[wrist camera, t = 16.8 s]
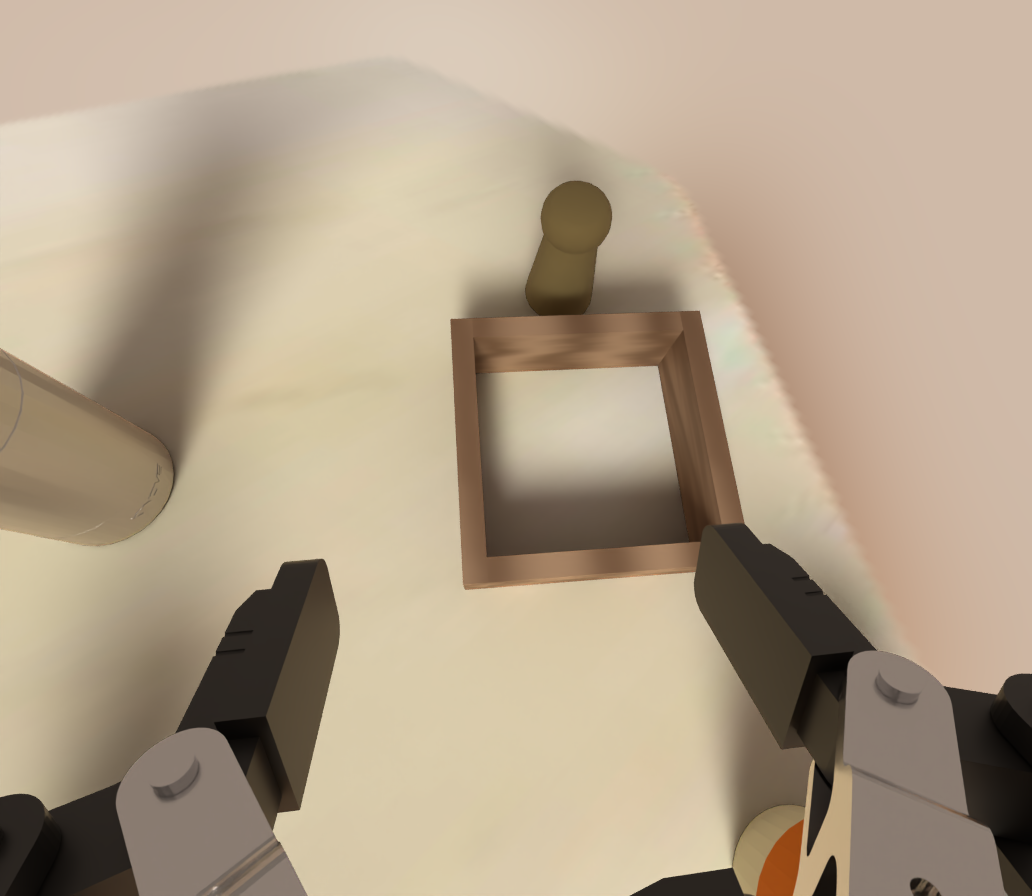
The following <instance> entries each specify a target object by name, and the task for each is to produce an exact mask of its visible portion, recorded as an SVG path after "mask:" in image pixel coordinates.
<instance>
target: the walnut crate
mask: <svg viewBox="0 0 1032 896" xmlns="http://www.w3.org/2000/svg"><path fill="white" fill-rule="evenodd" d="M451 339H452V360H453V381H454V403H455V424H456V445H457V466H458V487H459V508H460V529H461V550H462V571H463V585H464V588H465V590H469V589H481V588H494V587H507V586H520V585H533V584H546V583H558V582H571V581H584V580H597V579H610V578H623V577H635V576H648V575H661V574H674V573H687V572H696V567H697V561H698V555H699V549H700V543H701V537H702V532H703V529H704V528H705V527H706V526H708V525H718V524H729V523H743V524H744V519H743V514H742V509H741V505H740V500H739V495H738V490H737V486H736V481H735V476H734V472H733V467H732V462H731V457H730V453H729V448H728V443H727V438H726V434H725V429H724V424H723V419H722V415H721V410H720V405H719V400H718V396H717V391H716V386H715V381H714V377H713V372H712V367H711V362H710V358H709V353H708V348H707V343H706V339H705V334H704V329H703V324H702V320H701V315H700V311H680V312H649V313H619V314H589V315H558V316H528V317H498V318H467V319H451ZM636 366H658V368H659V374H660V380H661V385H662V391H663V397H664V402H665V408H666V414H667V419H668V425H669V430H670V436H671V442H672V447H673V453H674V459H675V464H676V470H677V476H678V481H679V487H680V492H681V498H682V504H683V509H684V515H685V521H686V526H687V532H688V538H689V543H675V544H661V545H648V546H634V547H620V548H606V549H593V550H579V551H565V552H552V553H538V554H524V555H510V556H497V557H487V552H486V536H485V520H484V503H483V487H482V471H481V455H480V438H479V422H478V406H477V390H476V373H494V372H517V371H541V370H565V369H589V368H612V367H636Z"/></svg>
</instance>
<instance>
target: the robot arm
mask: <svg viewBox="0 0 1032 896" xmlns="http://www.w3.org/2000/svg"><path fill="white" fill-rule="evenodd" d="M173 477H174V472H173V463H172V460H171V457H170V455H169V452H168V451H167V449H166V448H165V446H164V445H163V444H162V442H160V441H159V440H158V439H157V438H156V437H154V436H153V435H152V434H150V433H148V432H146V431H145V430H143V429H141V428H139V427H138V426H136V425H134V424H132V423H131V422H129V421H127V420H125V419H124V418H122V417H120V416H119V415H117V414H115V413H114V412H112V411H110V410H108V409H106V408H105V407H103V406H101V405H99V404H98V403H96V402H94V401H92V400H91V399H89V398H87V397H85V396H84V395H82V394H80V393H78V392H77V391H75V390H73V389H71V388H70V387H68V386H66V385H64V384H63V383H61V382H59V381H57V380H56V379H54V378H52V377H50V376H48V375H47V374H45V373H43V372H41V371H40V370H38V369H36V368H34V367H33V366H31V365H29V364H27V363H26V362H24V361H22V360H20V359H19V358H17V357H15V356H13V355H12V354H10V353H8V352H6V351H5V350H3V349H1V348H0V529H3V530H8V531H13V532H18V533H24V534H29V535H34V536H38V537H43V538H48V539H54V540H59V541H64V542H69V543H75V544H80V545H88V546H101V545H108V544H113V543H116V542H119V541H122V540H125V539H127V538H129V537H131V536H133V535H135V534H136V533H138V532H140V531H141V530H142V529H144V528H145V527H146V526H147V525H148V524H150V523H151V522H152V521H153V520H154V519H155V517H156V516H157V515H158V514H159V513H160V512H161V510H162V508H163V507H164V505H165V503H166V502H167V500H168V498H169V495H170V492H171V489H172V485H173ZM694 591H695V597H696V601H697V604H698V606H699V609H700V611H701V613H702V614H703V616H704V618H705V619H706V621H707V623H708V624H709V626H710V628H711V630H712V631H713V633H714V635H715V636H716V638H717V640H718V642H719V643H720V645H721V647H722V648H723V650H724V652H725V654H726V655H727V657H728V659H729V660H730V662H731V664H732V666H733V667H734V669H735V671H736V672H737V674H738V676H739V678H740V679H741V681H742V683H743V684H744V686H745V688H746V690H747V691H748V693H749V695H750V696H751V698H752V700H753V701H754V703H755V705H756V707H757V708H758V710H759V712H760V713H761V715H762V717H763V719H764V720H765V722H766V724H767V725H768V727H769V729H770V731H771V732H772V734H773V736H774V737H775V739H776V741H777V743H778V744H779V746H780V748H781V749H788V748H796V747H804V746H806V748H807V750H808V751H809V753H810V754H811V756H812V758H813V760H812V763H811V765H810V770H809V778H808V787H807V797H806V806H805V816H804V826H803V835H802V845H801V854H800V863H799V870H798V876H797V881H796V885H795V889H794V893H793V896H1005V892H1006V893H1007V895H1008V896H1032V674H1017V675H1013V676H1011V677H1009V678H1008V679H1007V680H1006V681H1005V683H1004V685H1003V686H1002V688H1001V690H1000V692H999V693H998V695H995V694H988V693H982V692H976V691H970V690H963V689H957V688H950V687H945V686H942V684H941V683H940V682H939V681H938V680H937V679H936V678H935V677H934V676H933V675H931V674H930V673H929V672H928V671H926V670H925V669H923V668H922V667H921V666H919V665H917V664H915V663H914V662H912V661H910V660H908V659H906V658H903V657H901V656H898V655H895V654H892V653H888V652H882V651H877V650H876V649H875V648H874V647H873V646H872V645H871V643H870V642H869V641H868V640H867V639H866V638H865V637H864V636H863V635H862V634H861V632H860V631H859V630H858V629H857V628H856V627H855V626H854V625H853V624H852V623H851V621H850V620H849V619H848V618H847V617H846V616H845V615H844V614H843V613H842V612H841V610H840V609H839V608H838V607H837V606H836V605H835V604H834V603H833V602H832V601H831V599H830V598H829V597H828V596H827V595H823V591H822V590H821V588H820V587H819V586H818V585H817V584H816V583H815V582H814V581H813V580H810V579H809V575H808V574H807V573H806V572H805V571H804V570H803V569H802V568H801V566H800V565H799V564H798V563H797V562H796V561H795V560H794V559H793V558H792V557H790V556H789V555H787V554H786V553H784V552H782V551H781V550H779V549H778V548H776V547H774V546H773V545H771V544H762V543H761V542H760V541H759V540H758V538H757V537H756V536H755V535H754V534H753V533H752V531H751V530H750V529H749V528H748V527H747V526H746V525H745V524H743V523H729V524H718V525H708V526H706V527H705V528H704V529H703V532H702V537H701V543H700V549H699V555H698V561H697V567H696V573H695V579H694ZM339 635H340V624H339V615H338V611H337V606H336V602H335V598H334V594H333V589H332V585H331V581H330V577H329V572H328V568H327V565H326V562H325V560H324V559H313V560H302V561H291V562H284V563H283V564H282V565H281V567H280V570H279V572H278V574H277V577H276V579H275V581H274V584H273V586H272V588H271V589H267V590H256V591H255V592H254V593H253V594H252V595H251V596H250V597H249V598H248V599H247V600H246V601H245V602H244V603H243V604H242V605H241V606H240V607H239V608H238V609H237V610H236V611H235V613H234V615H233V617H232V619H231V621H230V624H229V626H228V628H227V630H226V632H225V637H223V638H222V640H221V642H220V644H219V646H218V648H217V650H216V656H213V658H212V660H211V662H210V664H209V666H208V668H207V670H206V672H205V674H204V676H203V678H202V681H201V683H200V685H199V687H198V689H197V691H196V693H195V695H194V697H193V699H192V701H191V703H190V705H189V707H188V709H187V711H186V713H185V715H184V717H183V719H182V721H181V723H180V725H179V727H178V729H177V731H176V733H175V734H173V735H171V736H169V737H167V738H165V739H163V740H162V741H160V742H158V743H157V744H155V745H154V746H153V747H151V748H150V749H149V750H147V751H146V752H145V753H144V754H143V755H142V756H141V757H140V758H139V759H138V760H137V761H136V762H135V763H134V764H133V765H132V767H131V768H130V769H129V770H128V772H127V773H126V775H125V776H124V778H123V780H122V781H121V782H119V783H117V784H115V785H112V786H110V787H108V788H105V789H103V790H100V791H98V792H95V793H93V794H90V795H88V796H85V797H83V798H80V799H77V800H75V801H72V802H70V803H67V804H65V805H62V806H60V807H57V808H55V809H52V810H50V811H48V810H47V809H46V807H45V806H44V805H43V803H42V802H41V801H40V800H39V799H38V798H36V797H35V796H32V795H29V794H13V795H8V796H4V797H0V896H307V894H306V892H305V890H304V888H303V886H302V884H301V882H300V880H299V878H298V876H297V874H296V872H295V870H294V868H293V866H292V864H291V862H290V860H289V858H288V856H287V854H286V852H285V851H284V849H283V847H282V845H281V843H280V842H278V841H277V839H276V837H275V835H274V833H273V828H274V824H275V820H276V817H277V813H280V812H288V811H296V810H300V807H301V803H302V798H303V794H304V790H305V786H306V781H307V777H308V773H309V769H310V764H311V760H312V756H313V752H314V747H315V743H316V739H317V735H318V730H319V726H320V722H321V718H322V713H323V709H324V705H325V700H326V696H327V692H328V688H329V683H330V679H331V675H332V671H333V666H334V662H335V658H336V654H337V649H338V645H339ZM1004 891H1005V892H1004ZM630 896H754V895H751V894H745V893H743V891H742V889H741V886H740V884H739V881H738V879H737V877H736V874H735V872H734V869H733V868H728V869H722V870H715V871H708V872H702V873H695V874H688V875H682V876H675V877H668V878H663V879H661V880H659V881H657V882H655V883H653V884H651V885H649V886H648V887H646V888H644V889H642V890H640V891H638V892H636V893H634V894H632V895H630Z"/></svg>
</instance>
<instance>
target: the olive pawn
mask: <svg viewBox="0 0 1032 896" xmlns="http://www.w3.org/2000/svg"><path fill="white" fill-rule="evenodd" d="M611 221H612V211H611V206H610V203H609V201H608V199H607V197H606V196H605V194H604V193H603V192H602V191H601V190H600V189H599V188H598V187H596V186H594V185H592V184H590V183H587V182H583V181H569V182H566V183H563V184H561V185H559V186H558V187H556V188H555V189H554V190H552V191H551V192H550V194H549V195H548V197H547V198H546V200H545V202H544V204H543V208H542V212H541V224H542V230H543V233H544V236H543V239H542V241H541V244H540V247H539V250H538V252H537V255H536V258H535V261H534V263H533V266H532V269H531V272H530V274H529V277H528V280H527V284H526V288H525V293H526V299H527V301H528V303H529V305H530V307H531V308H532V309H533V310H534V311H535V312H536V313H537V314H539V315H540V316H558V315H581V314H582V313H584V312H585V311H586V309H587V308H588V306H589V304H590V301H591V296H592V288H593V280H594V272H595V264H596V255H597V247H598V246H599V245H600V244H601V243H602V242H603V240H604V239H605V237H606V236H607V234H608V232H609V230H610V226H611Z"/></svg>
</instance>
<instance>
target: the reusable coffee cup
mask: <svg viewBox="0 0 1032 896" xmlns="http://www.w3.org/2000/svg"><path fill="white" fill-rule="evenodd" d="M804 816H805V807H803V806H796V805H781V806H776V807H773V808H770V809H767V810H766V811H764V812H762V813H761V814H759V815H758V816H756V817H755V818H754V819H753V820H752V821H751V822H750V824H749V825H748V826H747V827H746V829H745V830H744V832H743V834H742V835H741V837H740V839H739V842H738V845H737V847H736V850H735V855H734V861H733V869H734V872H735V874H736V877H737V879H738V881H739V884H740V886H741V889H742V891H743V893H745V894H751V895H754V896H793V893H794V889H795V885H796V881H797V876H798V870H799V863H800V854H801V845H802V835H803V826H804ZM1004 892H1005V891H1004ZM1005 896H1008V895H1007V893H1006V892H1005Z"/></svg>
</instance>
